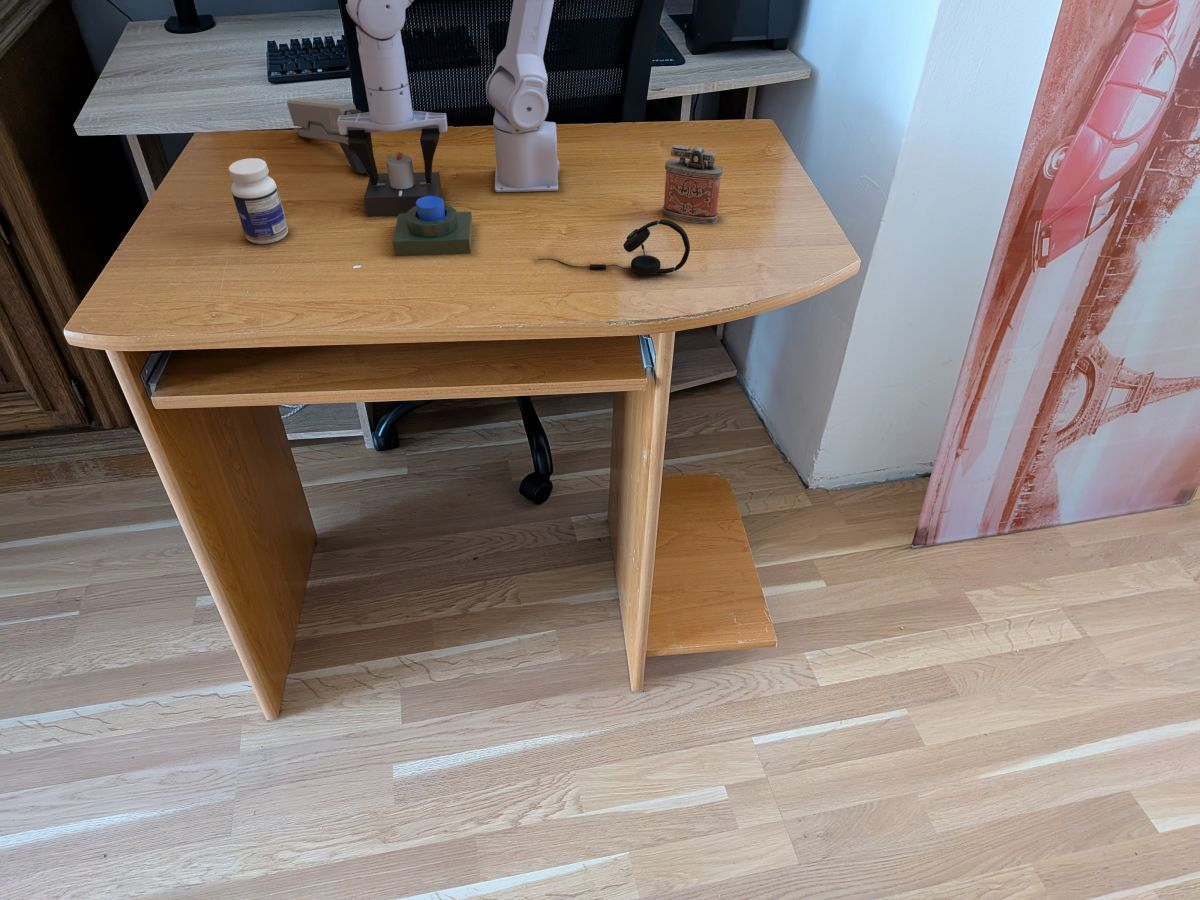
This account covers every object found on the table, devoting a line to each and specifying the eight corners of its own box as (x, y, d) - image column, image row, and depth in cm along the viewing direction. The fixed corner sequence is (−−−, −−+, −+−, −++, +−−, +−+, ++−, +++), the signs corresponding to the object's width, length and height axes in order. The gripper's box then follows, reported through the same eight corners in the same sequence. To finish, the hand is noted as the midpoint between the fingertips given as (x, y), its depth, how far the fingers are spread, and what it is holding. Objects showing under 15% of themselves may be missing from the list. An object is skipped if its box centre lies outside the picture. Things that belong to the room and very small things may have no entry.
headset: (565, 281, 118) (701, 247, 110) (552, 305, 112) (693, 271, 104) (547, 237, 114) (686, 198, 106) (532, 259, 109) (677, 221, 101)
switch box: (472, 225, 117) (469, 199, 114) (470, 254, 111) (467, 226, 108) (400, 228, 116) (396, 201, 114) (394, 256, 111) (390, 228, 108)
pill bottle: (244, 229, 116) (223, 159, 109) (286, 222, 117) (268, 153, 111) (247, 248, 112) (225, 177, 105) (291, 241, 113) (272, 170, 107)
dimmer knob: (414, 189, 119) (410, 162, 116) (388, 189, 118) (384, 163, 116) (416, 178, 121) (412, 152, 119) (391, 178, 121) (386, 152, 119)
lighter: (719, 215, 120) (727, 147, 113) (714, 225, 118) (721, 156, 111) (665, 206, 122) (670, 139, 115) (659, 216, 120) (663, 148, 113)
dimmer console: (441, 190, 125) (439, 170, 123) (438, 215, 119) (435, 194, 117) (374, 192, 125) (370, 172, 122) (367, 217, 119) (363, 196, 117)
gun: (370, 177, 126) (350, 107, 120) (304, 162, 143) (284, 100, 138) (385, 172, 127) (366, 103, 121) (317, 158, 144) (298, 96, 139)
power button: (445, 209, 113) (444, 195, 111) (444, 222, 110) (442, 207, 109) (419, 210, 113) (417, 196, 111) (416, 222, 110) (414, 208, 109)
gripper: (443, 72, 114) (454, 168, 123) (335, 74, 113) (354, 170, 122) (440, 90, 109) (451, 189, 118) (327, 92, 108) (347, 192, 117)
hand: (402, 181), depth 120 cm, fingers open, 7 cm apart
